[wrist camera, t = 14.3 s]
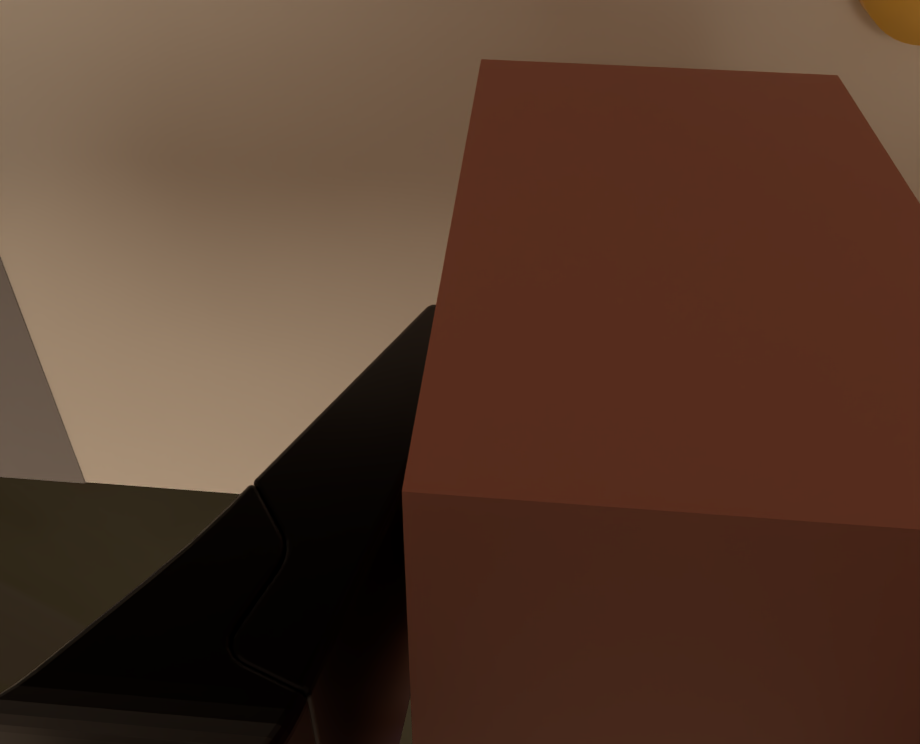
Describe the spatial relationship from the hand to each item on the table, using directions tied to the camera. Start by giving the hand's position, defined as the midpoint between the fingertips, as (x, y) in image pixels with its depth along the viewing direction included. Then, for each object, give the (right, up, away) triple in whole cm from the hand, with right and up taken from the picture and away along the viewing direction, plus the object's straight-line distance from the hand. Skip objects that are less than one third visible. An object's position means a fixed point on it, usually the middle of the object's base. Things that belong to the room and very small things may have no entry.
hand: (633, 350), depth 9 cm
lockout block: (0, +1, +1) cm, 2 cm away
